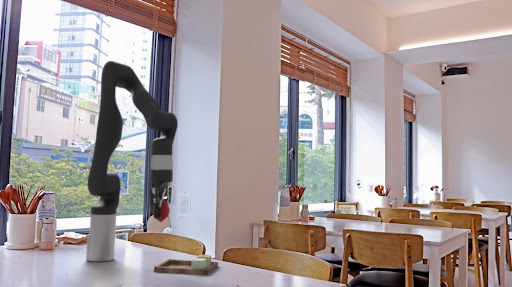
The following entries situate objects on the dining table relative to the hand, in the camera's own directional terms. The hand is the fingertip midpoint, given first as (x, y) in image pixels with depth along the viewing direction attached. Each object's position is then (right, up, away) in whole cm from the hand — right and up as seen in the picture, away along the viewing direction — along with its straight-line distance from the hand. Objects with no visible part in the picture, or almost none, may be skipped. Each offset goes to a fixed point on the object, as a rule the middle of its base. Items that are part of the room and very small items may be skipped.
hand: (160, 217), depth 149 cm
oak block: (+15, -17, -1) cm, 23 cm away
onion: (0, -2, 0) cm, 2 cm away
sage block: (+14, -17, -7) cm, 23 cm away
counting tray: (+10, -18, -4) cm, 21 cm away
